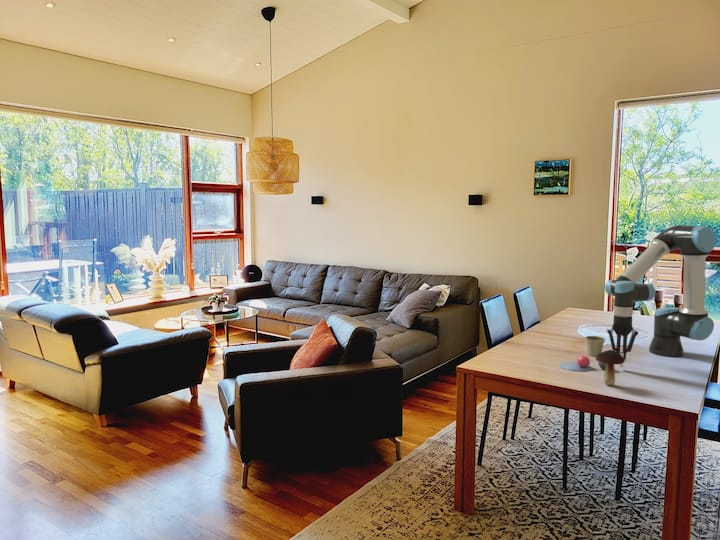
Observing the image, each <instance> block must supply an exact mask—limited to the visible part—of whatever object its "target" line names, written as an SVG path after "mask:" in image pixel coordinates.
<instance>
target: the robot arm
mask: <svg viewBox="0 0 720 540" xmlns="http://www.w3.org/2000/svg"><path fill="white" fill-rule="evenodd" d="M716 244H717V237H716V234H715V232H714V231H713V230H712V229H711V228H710V227H708V226H701V225H673V226H671V227H668V228H666V229H665V230H663V231H662V232H660V233H658V234H657V235H656V236H655V237H654V238H653V239H652V240H650V245H649V246H648V247H647V248H646V249H644V251H643V252H641V254H640V255H639V256H638V257H636V259H635V260H634V261H632V263H631V264H630V265H629V266H628V267H627V268H626V269H625V270H624V271H623V272H622V273H621V274H620V275H619V276H618V277H617V278H616V279H609V280H608V281H607V282H606V283H605V285H604V290H605V292H606V294H608V295H610V296H613V297H614V306H613V308H614V309H613V314H614V315H613V321H612V322H613V324H612V326H611V327H610V328H607V329H606V332H607V334H608V335H609V340H610V341H609V342H610V345H611V350H613V351H615V352H617V353H619V354H620V355H621V356H622V357H623V358H624V360H625V361H626V359H627V353H630V352H632V349H633V346H634V342H635V339H636V337H637V336H638V334H639V332H638V330H635V329H634V327H633V309H634V303H635V302H643V301H645V302H647V301H651V300H653V299H654V298H655V297H656V289H655V286H653V285H652V284H650V283H642V284H641V283H638V282H639V281H640V279H642V278H643V277H644V276H645V275H646V274H647V273H648V272H649V271H650V269H652V268H653V267H654V265H656V263H658V261H659V260H661V259H662V258H663V256H666V255H669V254H670V252H672V251H675V250H676V251H677V250H678V251H679V254H680V256H681V257H682V258H683V284H682V285H683V289H682V290H683V292H682V293H683V294H682V295H683V297H682V308H681V307H659V308H656V309H655V312H654V320H653V321H654V323H653V324H654V325H653V338H652V339H651V342H650V344H649V347H648V351H649V353H650V354H654V355H658V356H664V357H676V358H677V357H681V356H684V350H685V349H684V346H683V344H682V341H681V337H682V338H687V339H690V340H696V341H703V340H706V339H708V338H709V337H710V336H711V335H712V333H713V332H714V327H715V322H714V320H713V319H712V318H711V317H709V311H708V310H707V309H705V293H706V292H705V290H706V288H705V287H706V259H707V257H709V256H710V252H712V251H713V250H714V249H715V247H716ZM613 333H615V334H616V345H615V340H614V336H613ZM630 334H631V336H630V338H629V342H628V336H629V335H630ZM621 338H622V339H621ZM621 342H622V351H621ZM617 365H618V367H619V368H623V367H624V363H622V364H617Z"/></svg>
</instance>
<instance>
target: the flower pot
mask: <svg viewBox="0 0 720 540" xmlns="http://www.w3.org/2000/svg"><path fill="white" fill-rule="evenodd" d="M584 338H585V339H584V340H585V342H586V349H587V351H586V352H587V355H589V356H591V357H597V355H598V354H600V353H602V352H603V346H604V343H605V341H606V338H604V337H602V336H595V335H588V336H587V335H586V336H584Z"/></svg>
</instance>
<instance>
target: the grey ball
mask: <svg viewBox="0 0 720 540" xmlns="http://www.w3.org/2000/svg"><path fill="white" fill-rule="evenodd" d="M598 367H599V368H601V369H602V370H604V371H605V367H606V363H602V362H599V361H598Z"/></svg>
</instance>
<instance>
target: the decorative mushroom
mask: <svg viewBox="0 0 720 540" xmlns="http://www.w3.org/2000/svg"><path fill="white" fill-rule="evenodd" d="M595 360H596V361H597V362H598V363H599V362H602V363H606V367H605V370H604V373H603V374H604V376H603V382H604V383H605V384H606V386H613V385H614V384H615V382H616V368H615V365H618V364H622V363H623V364H624V363H625V362H626V359H625V360H624V358H623V357H622V356H621V355H620V354H619V353H617V352H616V351H613V349H608V350H605V351H602V353H600V354H598V355H597V356H595Z"/></svg>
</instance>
